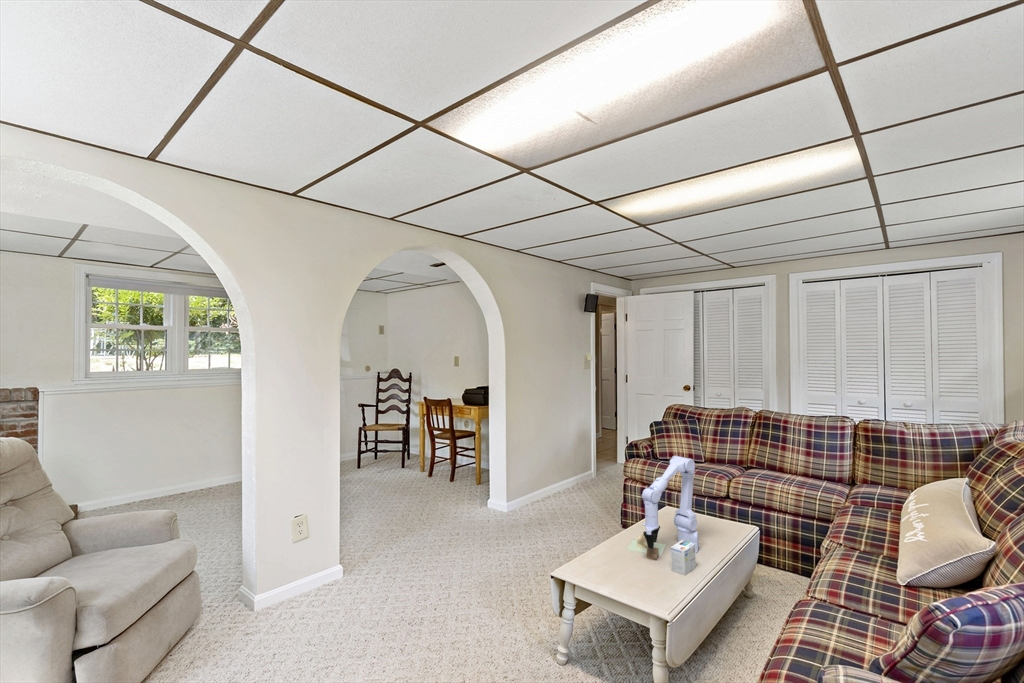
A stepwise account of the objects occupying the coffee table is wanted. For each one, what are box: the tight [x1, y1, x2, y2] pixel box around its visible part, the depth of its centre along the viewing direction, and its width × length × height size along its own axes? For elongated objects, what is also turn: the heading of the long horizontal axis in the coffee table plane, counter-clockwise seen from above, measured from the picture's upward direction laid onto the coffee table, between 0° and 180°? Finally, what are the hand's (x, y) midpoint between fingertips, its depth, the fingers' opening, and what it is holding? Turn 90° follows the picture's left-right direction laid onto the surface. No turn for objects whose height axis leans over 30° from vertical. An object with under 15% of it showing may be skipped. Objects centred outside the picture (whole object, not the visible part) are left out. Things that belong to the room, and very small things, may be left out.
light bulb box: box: [670, 540, 697, 576], centre depth 209 cm, size 11×7×11 cm, turn 135°
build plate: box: [626, 538, 667, 556], centre depth 231 cm, size 16×14×1 cm
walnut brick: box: [646, 547, 660, 561], centre depth 219 cm, size 4×4×5 cm
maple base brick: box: [636, 534, 648, 549], centre depth 233 cm, size 6×6×4 cm
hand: (652, 545), depth 219 cm, fingers open, 7 cm apart
